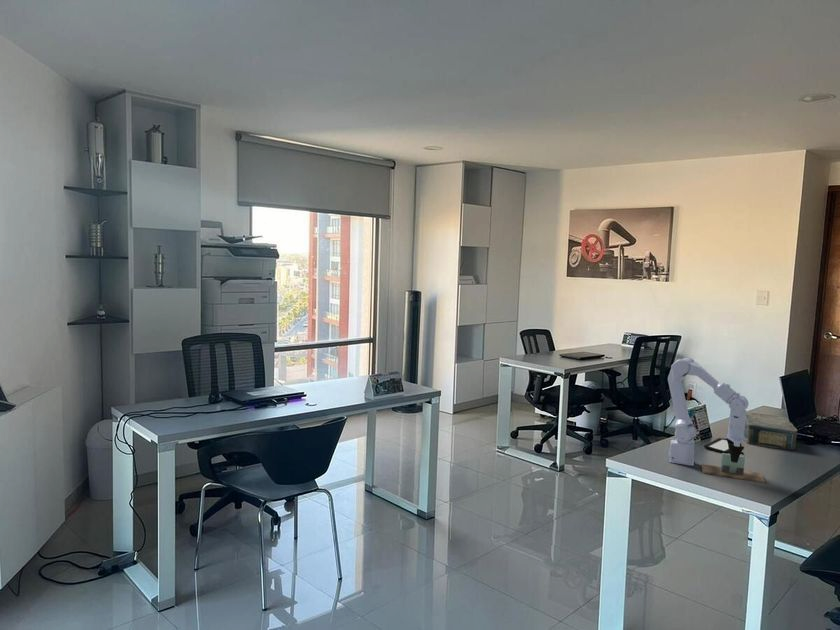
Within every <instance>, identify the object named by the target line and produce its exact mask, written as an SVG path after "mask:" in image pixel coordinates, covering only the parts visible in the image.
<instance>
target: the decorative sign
mask: <svg viewBox="0 0 840 630" xmlns="http://www.w3.org/2000/svg"><path fill="white" fill-rule="evenodd" d="M742 445H743V444H742V443H741V444H740V446H742ZM703 447H704V448H705V449H706V450H709V451H713V452H716V453H719V454H722V453H726V454H729V448H728V442H727V440H726V438H724V437H723V438H721V437H718V438H716V439H715V440H713V441H711V442H707V443H706V444H704V446H703ZM741 454H742V455H741ZM741 454H740V455H741V456H744V454H745V453H744V452H743V451H742V452H741Z"/></svg>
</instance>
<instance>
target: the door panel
mask: <svg viewBox="0 0 840 630" xmlns="http://www.w3.org/2000/svg"><path fill="white" fill-rule="evenodd" d="M745 459H746V457H745V456H744V455H740V456H739V459H738V462H737V463H735V462H731V456H730V454H729V453H728V454H726V453H721V463H720V467H721V471H722V468H723V465H724V466H730V470H729V472H731V473H736V469H737V468H743V469H744V470H745V463H746V462H745V461H746V460H745Z"/></svg>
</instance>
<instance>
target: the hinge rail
mask: <svg viewBox="0 0 840 630" xmlns="http://www.w3.org/2000/svg"><path fill="white" fill-rule="evenodd" d="M700 466H701V471H702V472H701V473H702V474H706V473H707V475H713V476H721V477H725V478H731V477H732V479H737V478H738V480H743V479H744V481H749V480H750V482H755V481H757V482H756V483H763V484H765V483H766V480H765V478H764V476H763V474H762V473H761V472H754V471H750V470H749V471H748V470H745V468H744V469H743V468H737V469H736V473H731V472H729V470H730V466H724V465H723V468H722V471H721V466H716V465H711V464H703V463H701V465H700Z"/></svg>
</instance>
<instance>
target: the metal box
mask: <svg viewBox="0 0 840 630" xmlns="http://www.w3.org/2000/svg"><path fill="white" fill-rule="evenodd" d="M797 435H798V429H797V427H795V426H794V424H793V423H792V422H790V419H789V418H788V417H785V416H781V415H780V416H779V415H773V414H771V415H770V414H765V413H764V414H763V413H757V412H756V413H755V412H746V420H745V430H744V438H747V441H746V443H747V444H748V445H755V446H759V445H760V446H759V447H766V446H767V447H768V448H772V447H774V448H773V449H780V448H782V449H781V450H788V449H789V450H790V451H794V450H795V449H796V443H797ZM767 447H766V448H767ZM789 450H788V451H789Z"/></svg>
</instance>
